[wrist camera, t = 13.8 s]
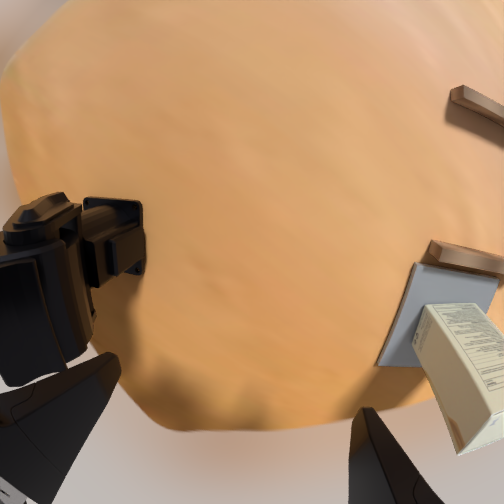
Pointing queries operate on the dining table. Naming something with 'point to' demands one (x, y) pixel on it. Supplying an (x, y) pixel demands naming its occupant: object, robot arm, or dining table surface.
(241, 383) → the dining table surface
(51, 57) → the dining table surface
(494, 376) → the skincare box
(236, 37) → the dining table surface
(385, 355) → the slate coaster
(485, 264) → the walnut cubby
